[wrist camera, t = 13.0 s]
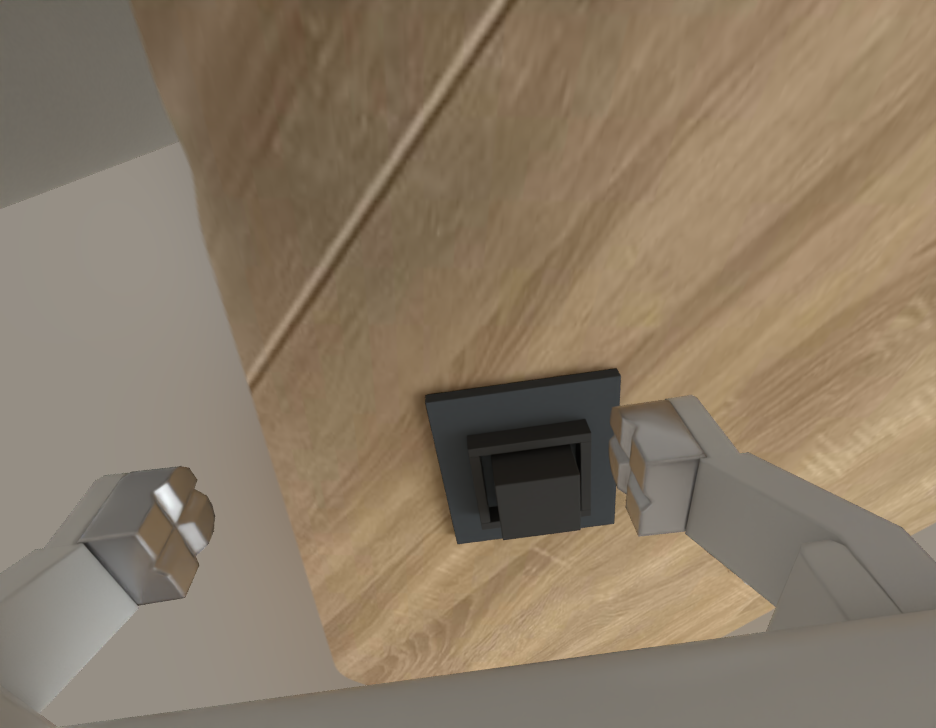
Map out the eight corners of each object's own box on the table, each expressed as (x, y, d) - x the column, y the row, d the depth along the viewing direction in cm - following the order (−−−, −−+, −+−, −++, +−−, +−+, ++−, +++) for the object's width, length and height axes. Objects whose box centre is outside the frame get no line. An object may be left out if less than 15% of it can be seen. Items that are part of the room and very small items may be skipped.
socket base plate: (456, 535, 45) (458, 560, 43) (425, 394, 36) (424, 417, 34) (611, 514, 44) (620, 539, 42) (616, 368, 36) (628, 389, 34)
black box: (497, 500, 41) (502, 540, 38) (489, 447, 38) (494, 486, 35) (569, 490, 41) (581, 530, 38) (567, 436, 38) (580, 474, 34)
